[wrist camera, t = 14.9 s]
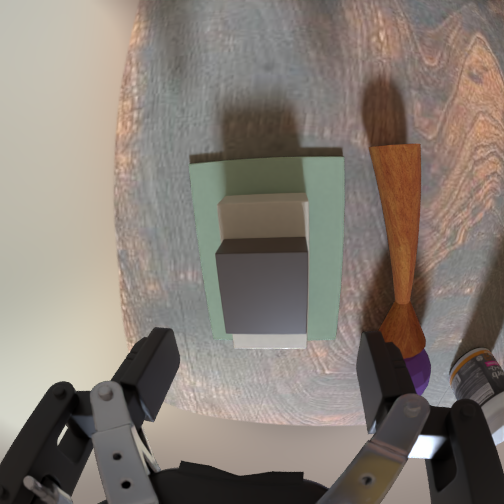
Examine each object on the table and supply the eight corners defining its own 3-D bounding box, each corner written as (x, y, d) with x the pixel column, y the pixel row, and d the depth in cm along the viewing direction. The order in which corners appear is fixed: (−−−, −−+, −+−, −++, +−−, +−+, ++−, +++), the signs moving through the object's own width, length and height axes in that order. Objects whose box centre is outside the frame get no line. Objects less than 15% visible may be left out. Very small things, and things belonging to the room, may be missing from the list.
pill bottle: (496, 352, 22) (535, 413, 13) (464, 388, 24) (492, 452, 15) (473, 339, 21) (516, 410, 12) (437, 379, 24) (467, 453, 14)
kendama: (460, 142, 12) (435, 407, 18) (407, 145, 18) (405, 368, 24) (374, 145, 12) (372, 432, 18) (334, 151, 18) (349, 387, 24)
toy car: (226, 193, 19) (203, 214, 14) (306, 189, 18) (314, 210, 13) (239, 323, 23) (227, 371, 18) (306, 323, 22) (309, 372, 17)
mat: (335, 336, 23) (335, 339, 22) (214, 336, 24) (213, 339, 24) (343, 156, 17) (344, 156, 17) (190, 163, 19) (188, 164, 18)
